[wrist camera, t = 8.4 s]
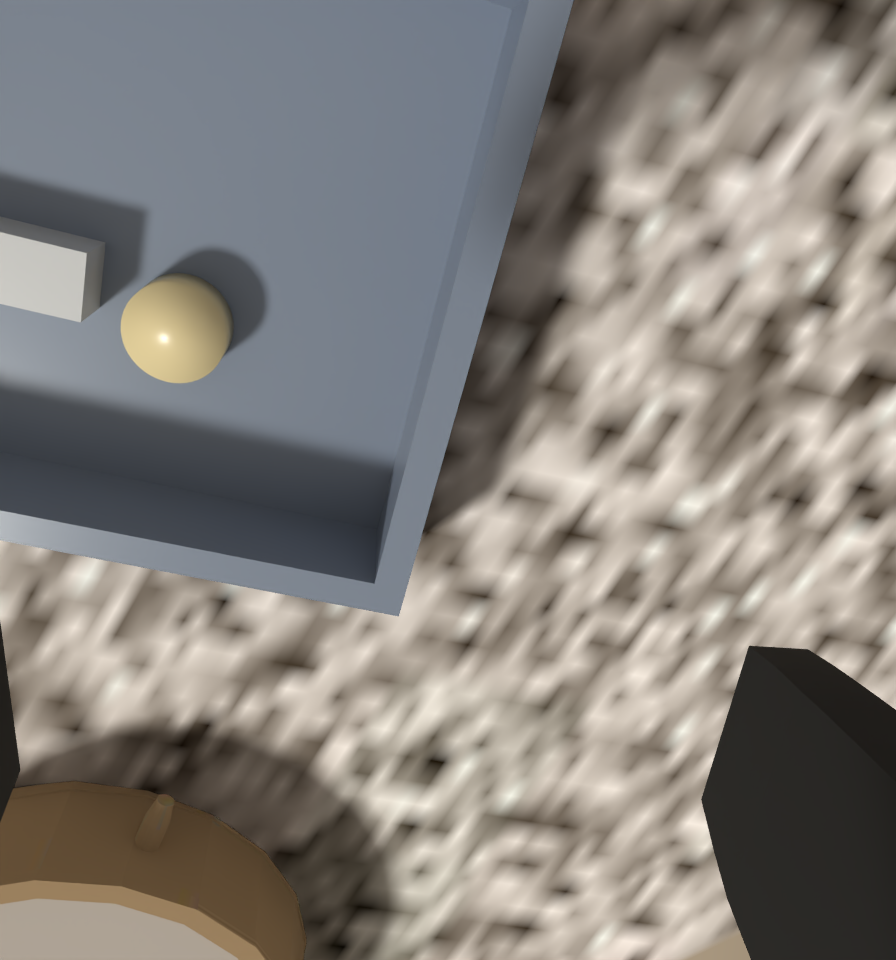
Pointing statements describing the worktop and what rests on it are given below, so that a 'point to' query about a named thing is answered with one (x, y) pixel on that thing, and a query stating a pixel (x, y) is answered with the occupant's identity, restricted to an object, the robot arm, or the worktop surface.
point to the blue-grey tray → (251, 273)
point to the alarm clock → (136, 881)
